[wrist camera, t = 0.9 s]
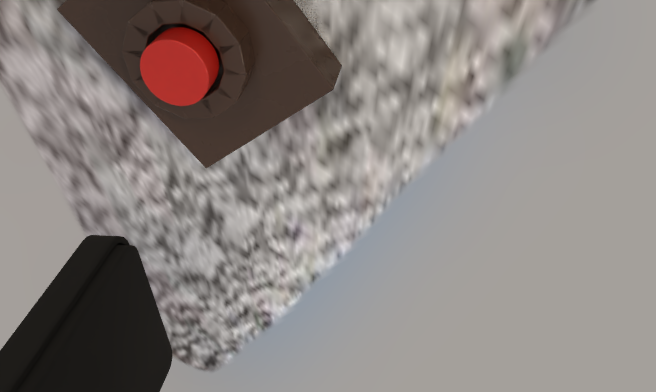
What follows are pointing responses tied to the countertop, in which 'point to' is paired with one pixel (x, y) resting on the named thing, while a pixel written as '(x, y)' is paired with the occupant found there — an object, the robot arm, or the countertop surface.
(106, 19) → the power button base
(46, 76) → the countertop surface
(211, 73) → the power button
